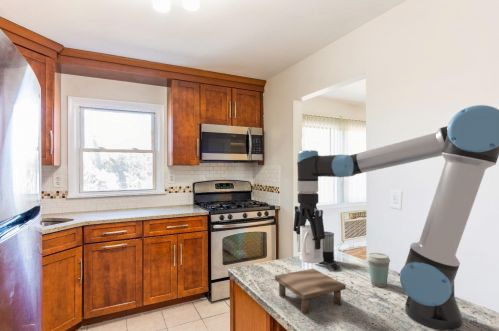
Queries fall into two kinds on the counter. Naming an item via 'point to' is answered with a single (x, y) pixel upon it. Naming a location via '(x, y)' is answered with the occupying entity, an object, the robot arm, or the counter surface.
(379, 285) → the coffee cup
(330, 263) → the milk frother
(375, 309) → the counter surface
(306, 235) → the mug
